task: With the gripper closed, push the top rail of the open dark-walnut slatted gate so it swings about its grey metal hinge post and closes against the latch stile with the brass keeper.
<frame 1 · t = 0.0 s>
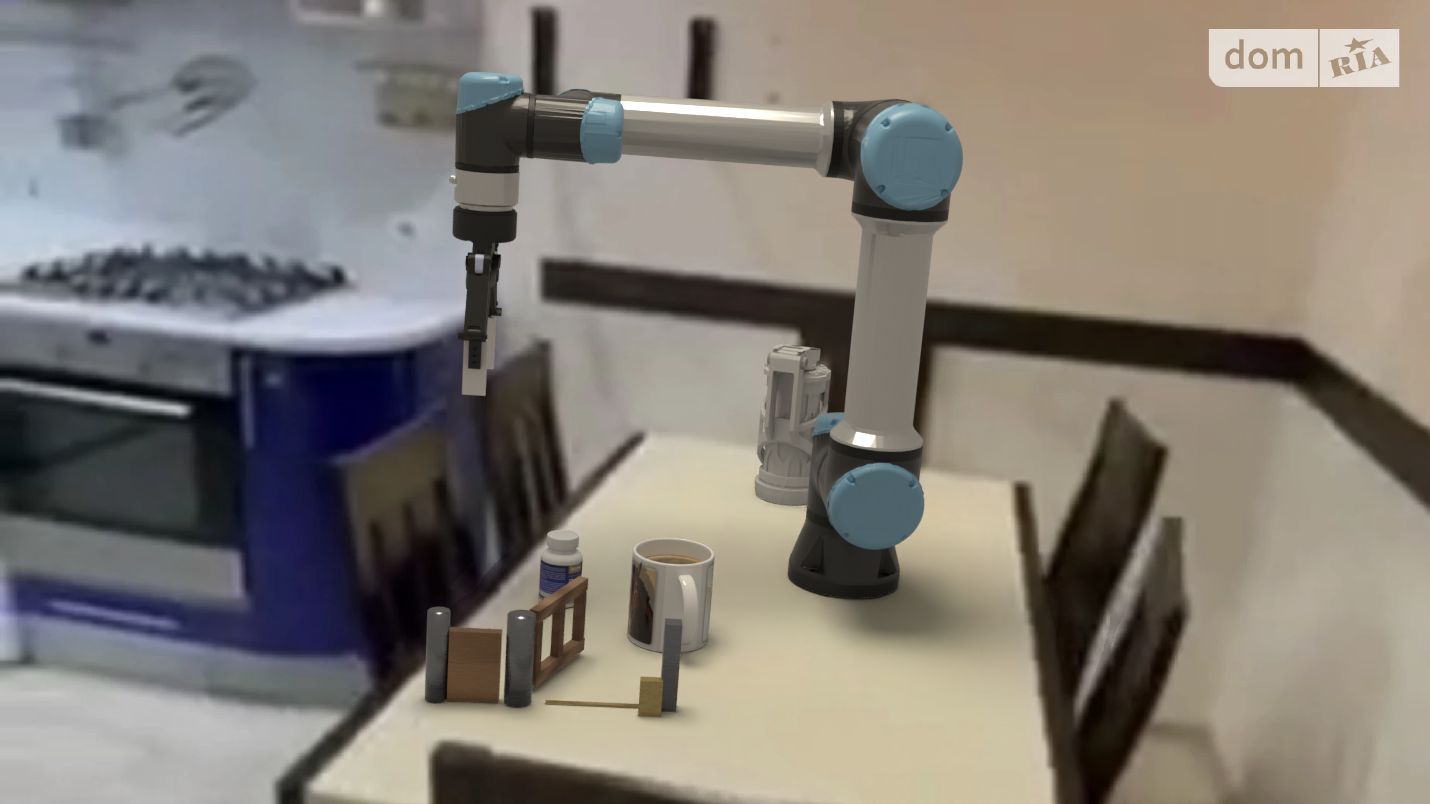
hand: (478, 381, 192), 28 cm above the table, fingers open, 13 cm apart
fence: (517, 701, 171), on the table
gate: (557, 630, 178), point 5 cm above the table, hinge at 65.0°
mug: (667, 642, 190), on the table
pill bottle: (559, 602, 200), on the table
latch stile: (667, 708, 172), on the table
lantern: (783, 499, 250), on the table
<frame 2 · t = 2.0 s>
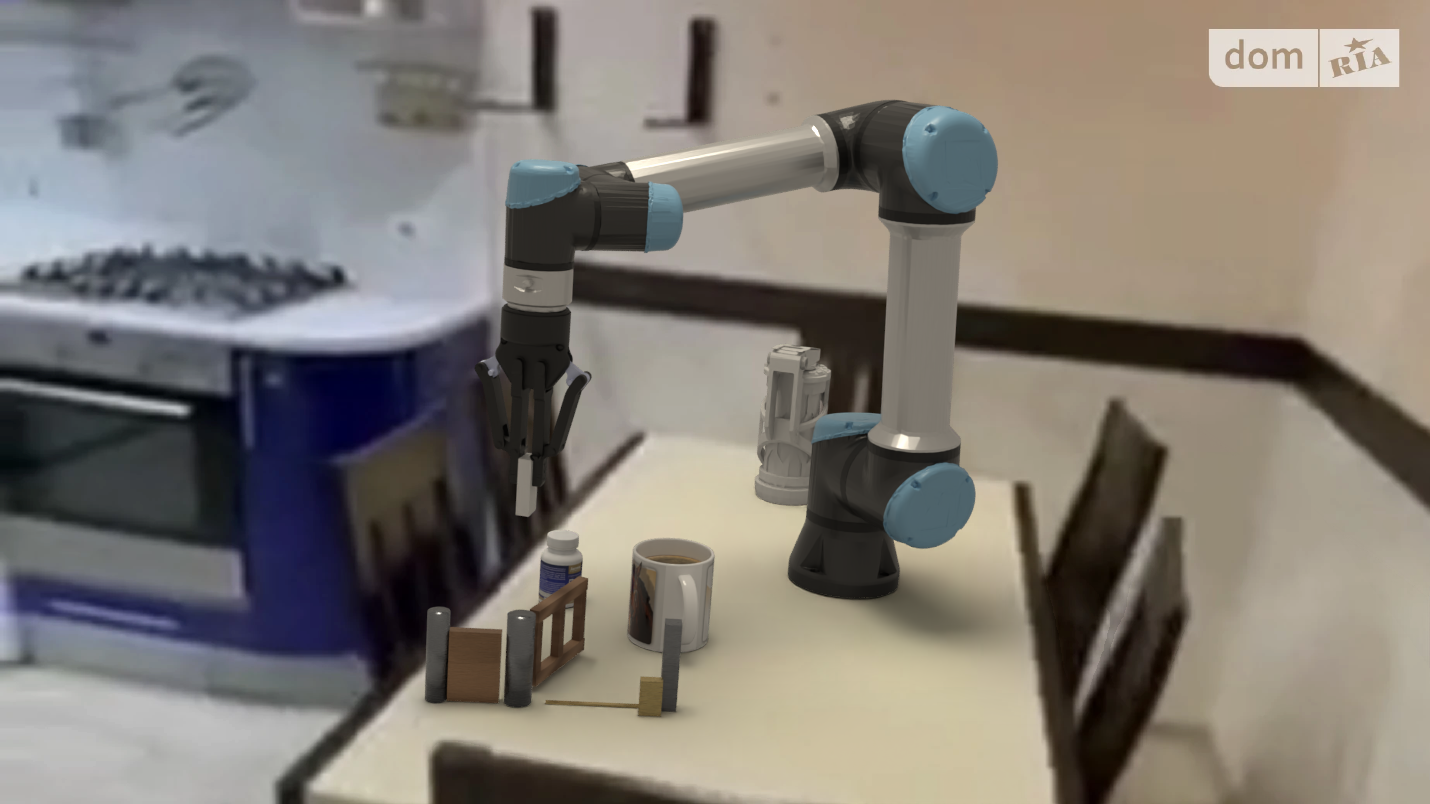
hand: (525, 512, 177), 18 cm above the table, fingers closed
nothing on the table moved.
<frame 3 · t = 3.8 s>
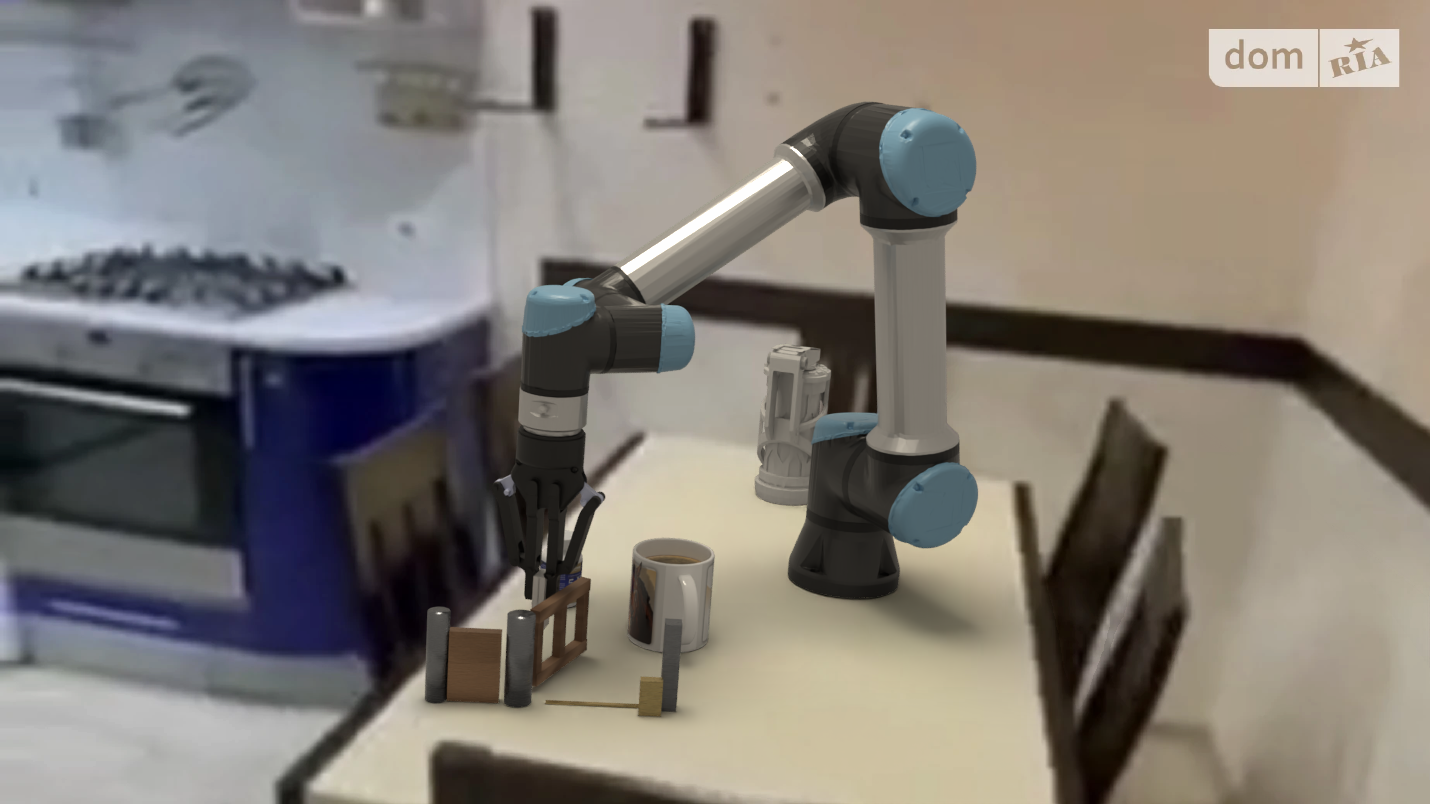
hand: (539, 626, 180), 4 cm above the table, fingers closed
gate: (559, 630, 178), point 5 cm above the table, hinge at 63.6°, touching gripper
everything else where it was.
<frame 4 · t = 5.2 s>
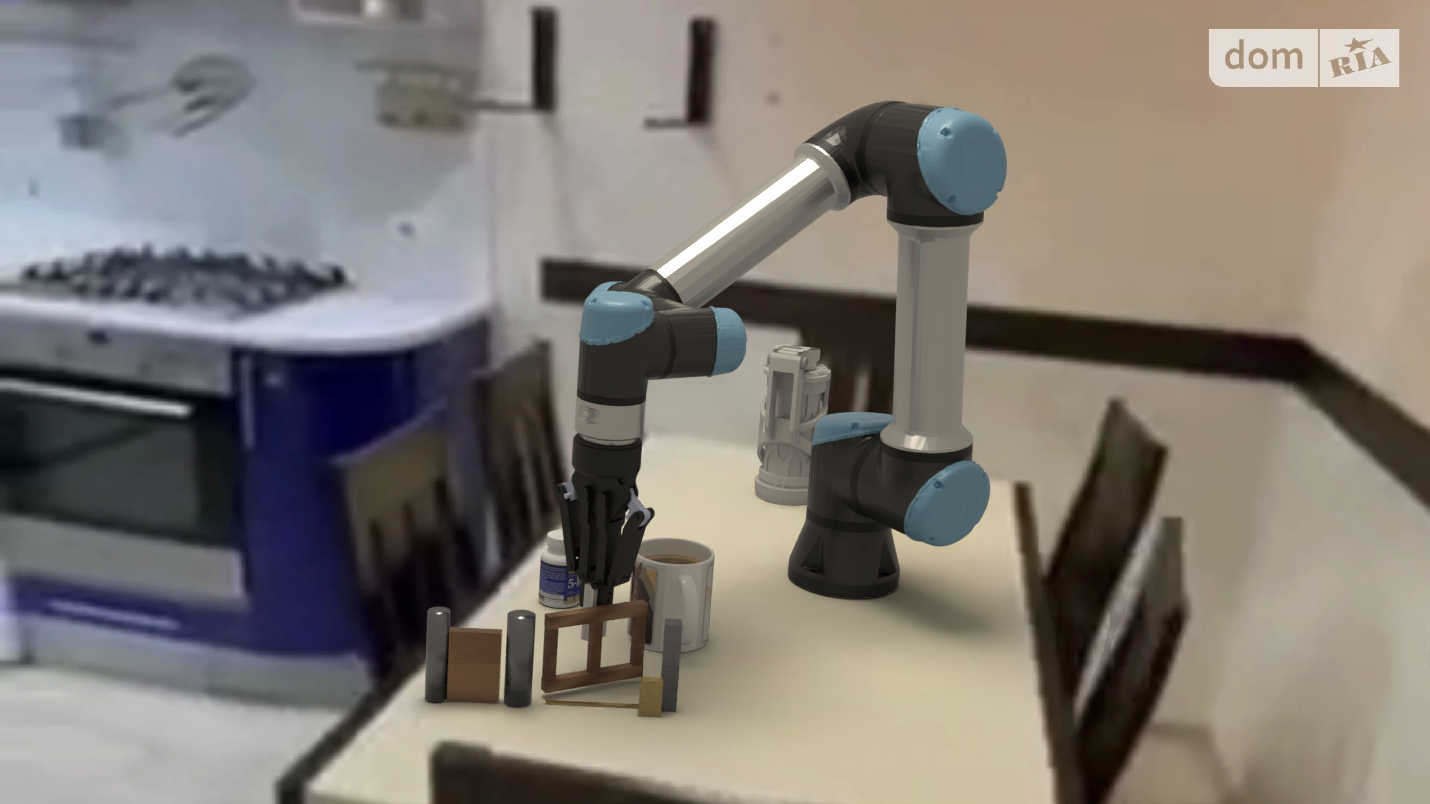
hand: (593, 637, 178), 5 cm above the table, fingers closed
gate: (594, 645, 174), point 5 cm above the table, hinge at 27.4°, touching gripper
everything else where it was.
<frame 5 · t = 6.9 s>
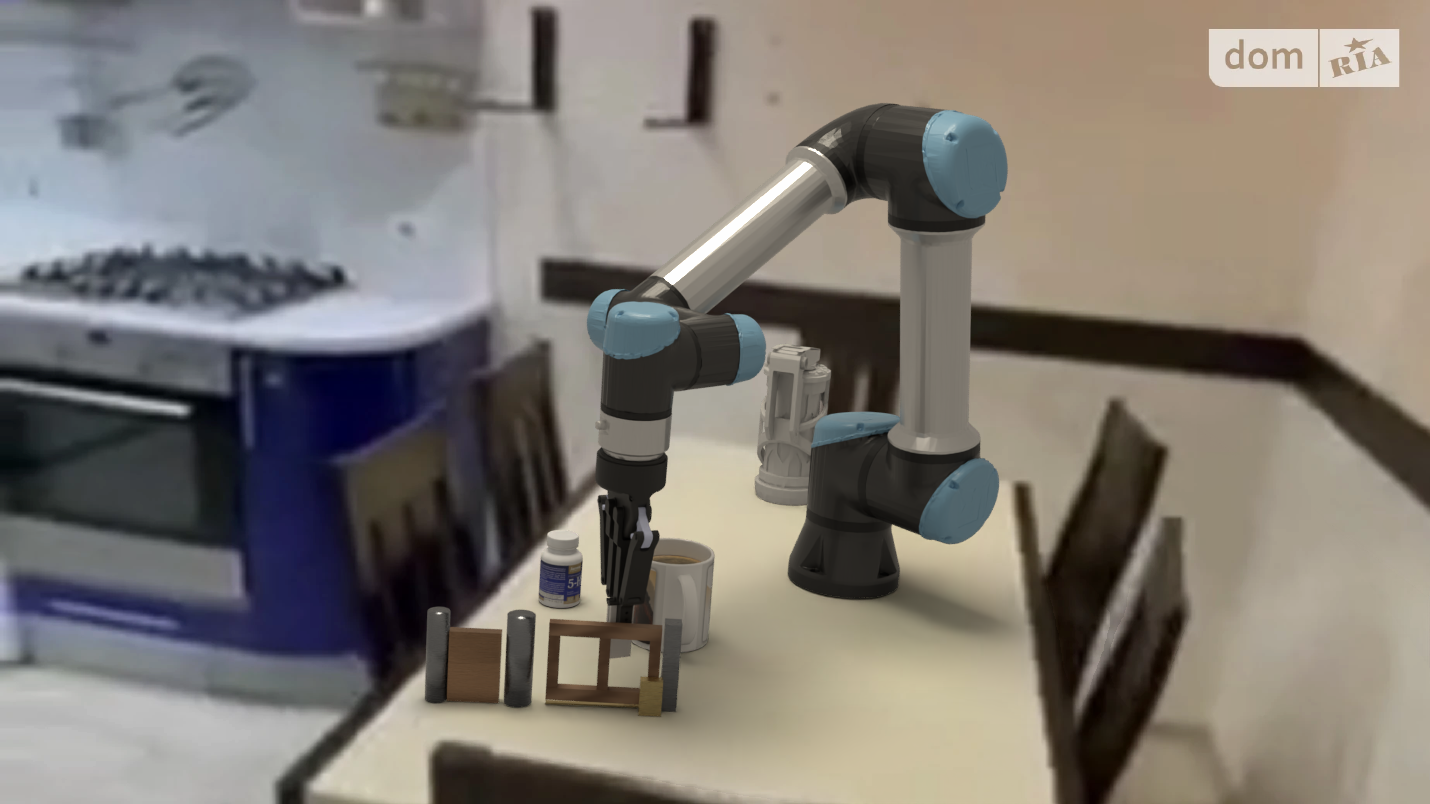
hand: (617, 655, 173), 5 cm above the table, fingers closed
gate: (603, 662, 170), point 5 cm above the table, hinge at -1.5°, touching gripper
everything else where it was.
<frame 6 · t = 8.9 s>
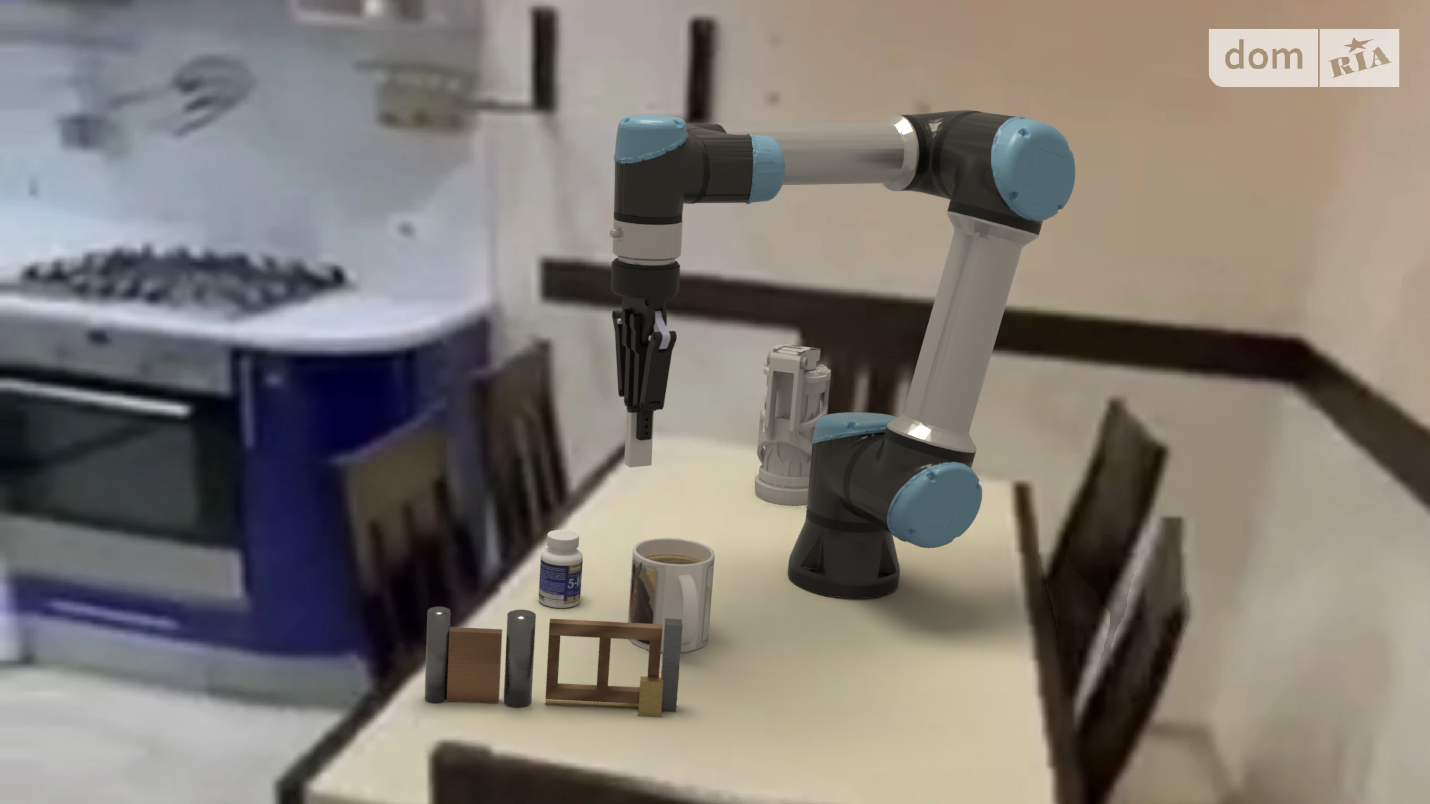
hand: (637, 464, 180), 23 cm above the table, fingers closed
gate: (603, 661, 170), point 5 cm above the table, hinge at -0.8°
everything else where it was.
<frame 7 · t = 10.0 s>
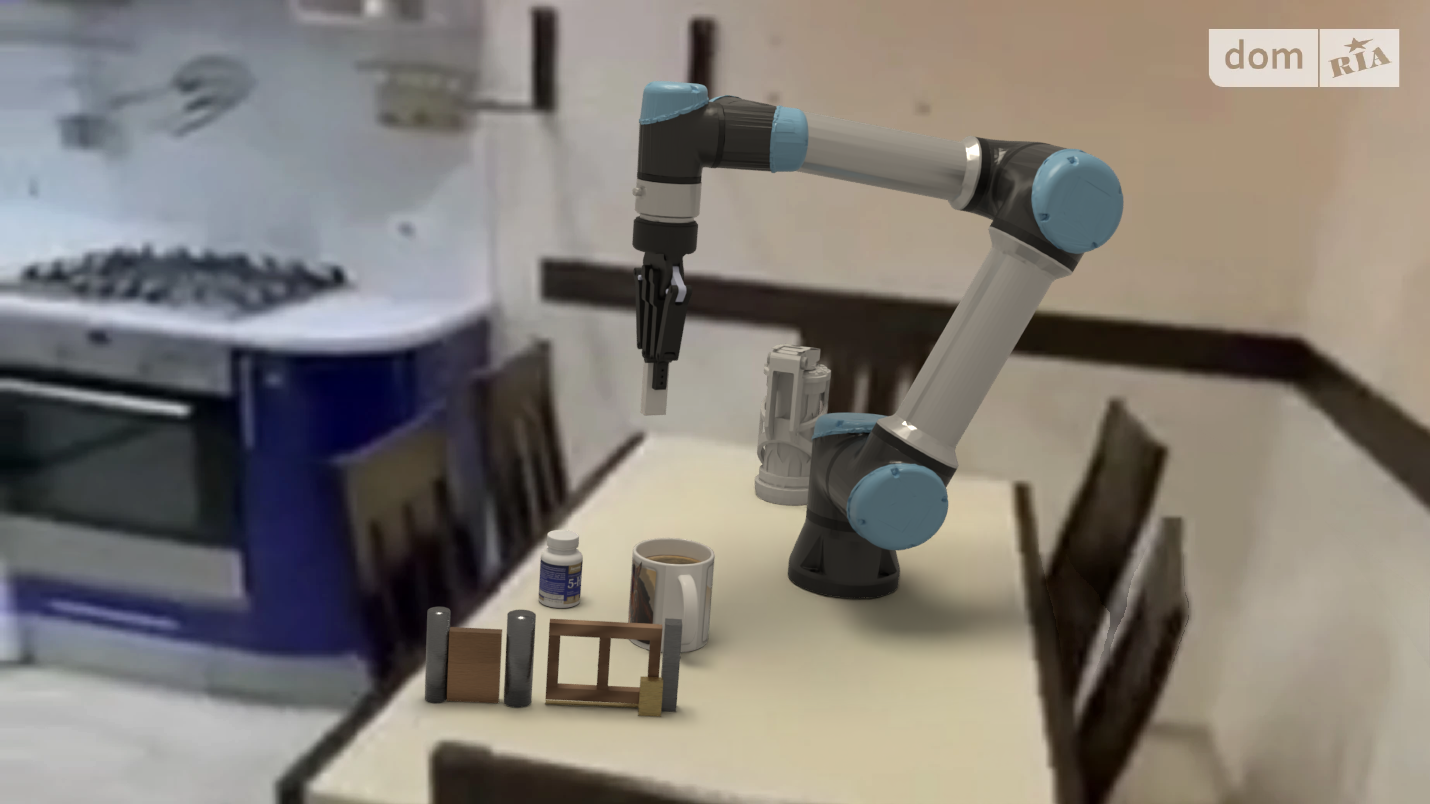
hand: (653, 413, 190), 26 cm above the table, fingers closed
nothing on the table moved.
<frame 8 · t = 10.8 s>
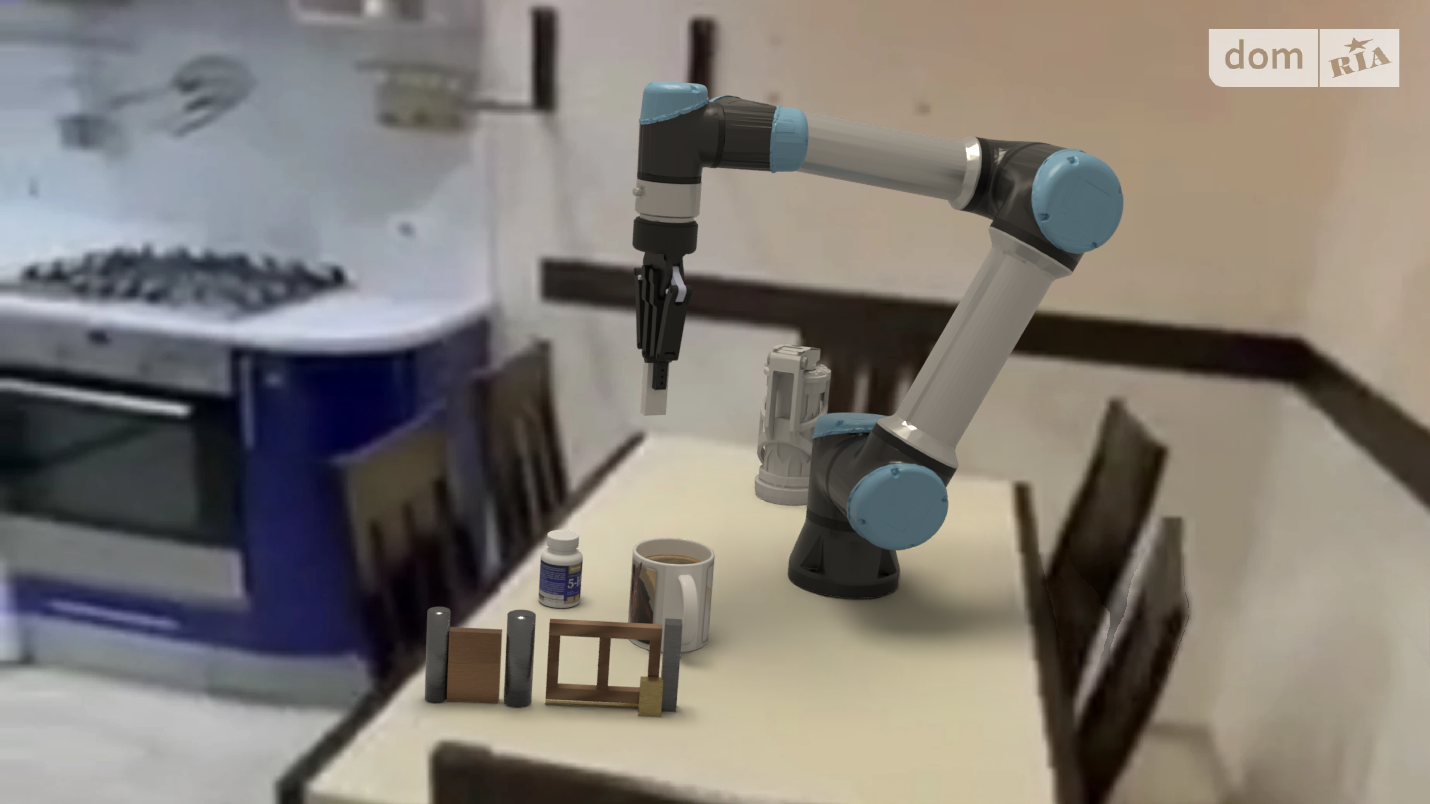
hand: (653, 413, 190), 26 cm above the table, fingers closed
nothing on the table moved.
at the end: gate at -1° (first picture: +65°) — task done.
